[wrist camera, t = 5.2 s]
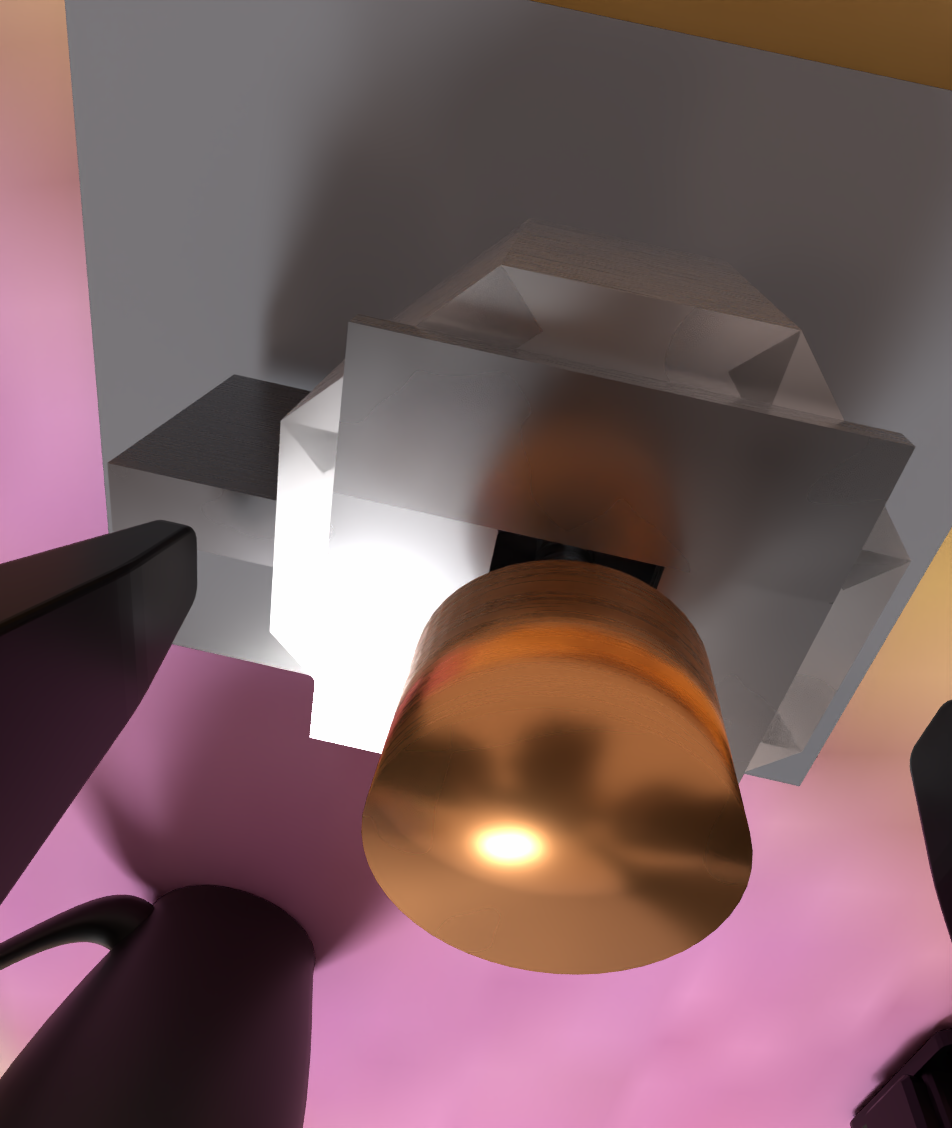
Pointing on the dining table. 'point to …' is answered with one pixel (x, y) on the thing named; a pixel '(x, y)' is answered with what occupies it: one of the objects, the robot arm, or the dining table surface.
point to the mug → (170, 1017)
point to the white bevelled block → (550, 475)
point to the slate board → (490, 212)
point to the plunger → (559, 771)
